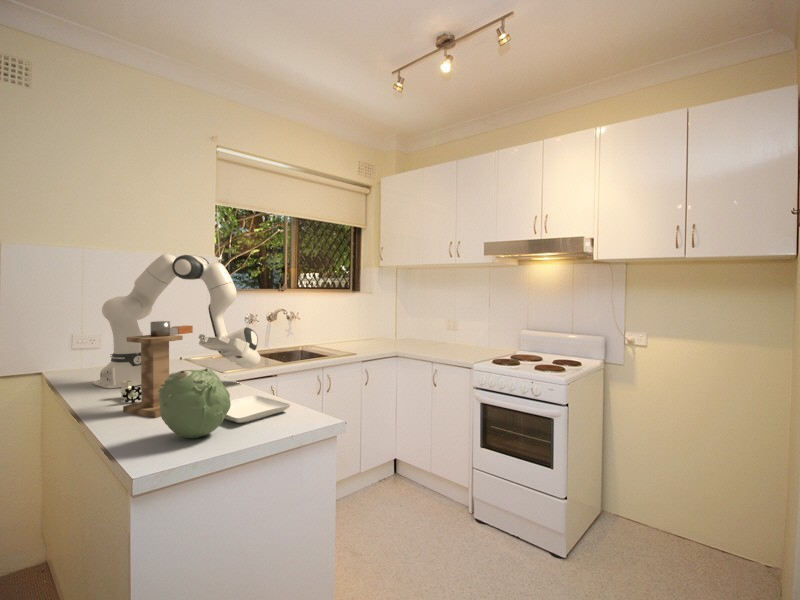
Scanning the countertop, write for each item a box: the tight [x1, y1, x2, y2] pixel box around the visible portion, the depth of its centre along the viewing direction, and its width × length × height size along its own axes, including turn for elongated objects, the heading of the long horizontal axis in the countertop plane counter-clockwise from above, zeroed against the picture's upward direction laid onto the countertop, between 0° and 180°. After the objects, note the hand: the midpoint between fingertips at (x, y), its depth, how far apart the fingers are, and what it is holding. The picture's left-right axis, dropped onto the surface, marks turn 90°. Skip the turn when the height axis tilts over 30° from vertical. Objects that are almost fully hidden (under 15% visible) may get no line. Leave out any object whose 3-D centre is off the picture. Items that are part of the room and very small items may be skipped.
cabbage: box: [158, 367, 231, 439], centre depth 118 cm, size 16×19×20 cm
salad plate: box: [224, 394, 292, 424], centre depth 141 cm, size 21×21×3 cm
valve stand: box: [122, 334, 184, 419], centre depth 143 cm, size 16×12×26 cm
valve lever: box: [150, 320, 194, 337], centre depth 149 cm, size 6×15×5 cm, turn 158°
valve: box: [120, 381, 141, 404], centre depth 155 cm, size 7×7×12 cm
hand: (209, 336), depth 164 cm, fingers open, 8 cm apart
